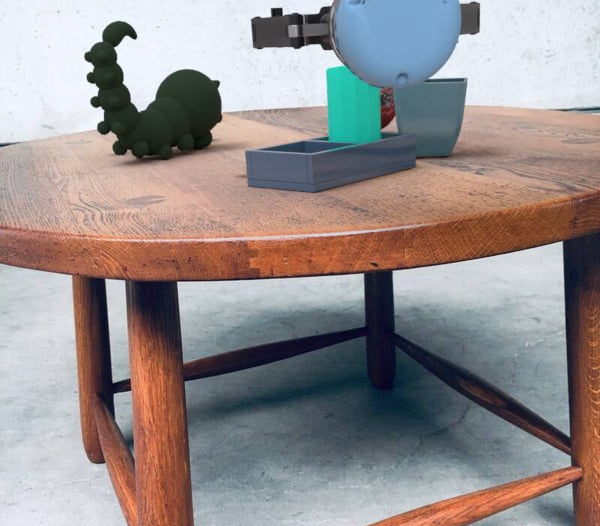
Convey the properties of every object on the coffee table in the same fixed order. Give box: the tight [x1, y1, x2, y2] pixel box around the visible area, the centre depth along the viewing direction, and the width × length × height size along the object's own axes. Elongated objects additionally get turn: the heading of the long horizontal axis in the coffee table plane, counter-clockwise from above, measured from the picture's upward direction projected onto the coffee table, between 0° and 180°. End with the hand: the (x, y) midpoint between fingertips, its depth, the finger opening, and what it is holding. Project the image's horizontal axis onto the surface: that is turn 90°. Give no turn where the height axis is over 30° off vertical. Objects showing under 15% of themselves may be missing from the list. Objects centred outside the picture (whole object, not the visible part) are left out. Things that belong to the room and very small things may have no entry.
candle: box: [325, 65, 382, 143], centre depth 102 cm, size 6×6×12 cm
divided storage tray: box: [244, 131, 417, 193], centre depth 101 cm, size 10×18×4 cm, turn 139°
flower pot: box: [393, 77, 469, 158], centre depth 112 cm, size 9×9×9 cm
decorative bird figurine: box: [380, 88, 396, 130], centre depth 126 cm, size 3×18×10 cm, turn 139°
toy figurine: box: [83, 20, 223, 160], centre depth 124 cm, size 9×19×25 cm
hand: (359, 25), depth 87 cm, fingers open, 13 cm apart
